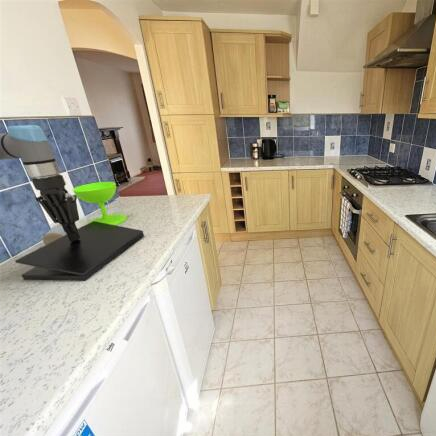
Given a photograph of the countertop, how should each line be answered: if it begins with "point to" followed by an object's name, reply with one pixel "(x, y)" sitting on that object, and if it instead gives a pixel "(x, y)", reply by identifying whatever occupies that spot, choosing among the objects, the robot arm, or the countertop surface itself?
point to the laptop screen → (81, 249)
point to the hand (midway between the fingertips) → (75, 239)
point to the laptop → (50, 274)
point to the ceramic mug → (54, 234)
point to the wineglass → (100, 200)
